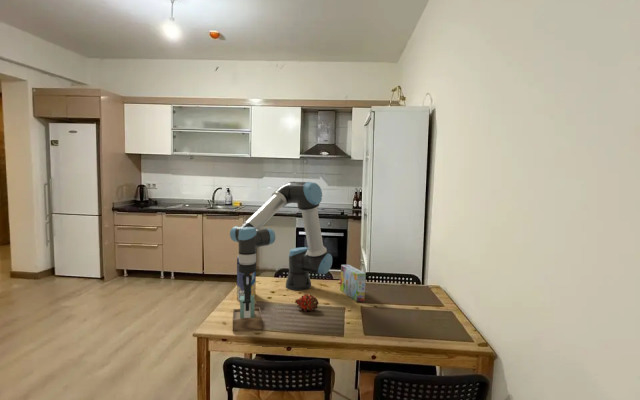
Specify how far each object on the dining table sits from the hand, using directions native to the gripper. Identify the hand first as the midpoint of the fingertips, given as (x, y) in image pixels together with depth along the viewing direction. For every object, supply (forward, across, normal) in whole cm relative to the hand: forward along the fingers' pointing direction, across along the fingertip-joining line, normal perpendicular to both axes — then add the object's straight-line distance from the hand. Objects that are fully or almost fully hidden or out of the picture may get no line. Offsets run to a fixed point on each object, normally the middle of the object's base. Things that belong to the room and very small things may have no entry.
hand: (247, 313), depth 157 cm
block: (+1, 0, 0) cm, 1 cm away
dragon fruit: (+5, -12, +29) cm, 32 cm away
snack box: (+5, -30, +58) cm, 66 cm away
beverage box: (+5, -37, 0) cm, 37 cm away
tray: (+5, 0, 0) cm, 5 cm away
